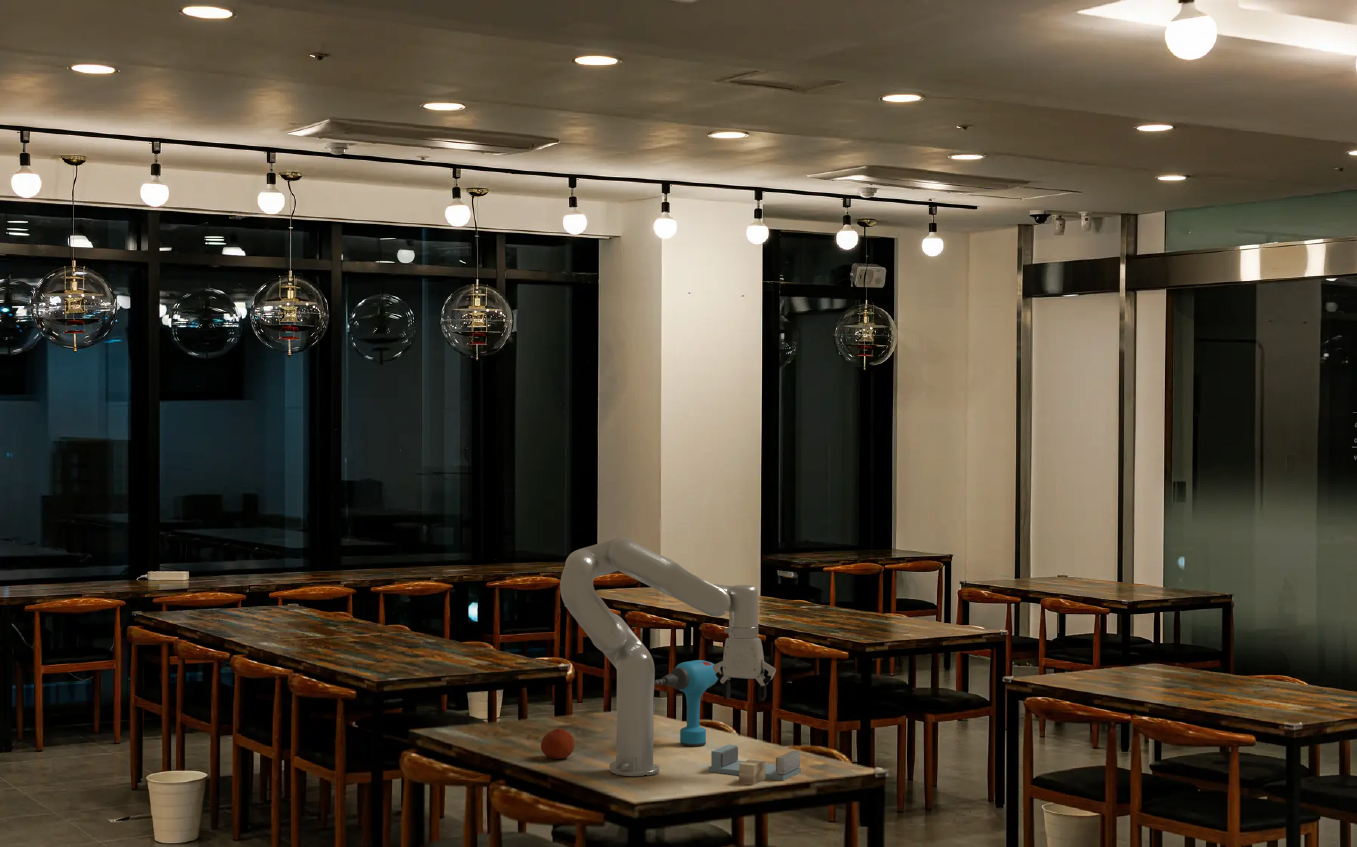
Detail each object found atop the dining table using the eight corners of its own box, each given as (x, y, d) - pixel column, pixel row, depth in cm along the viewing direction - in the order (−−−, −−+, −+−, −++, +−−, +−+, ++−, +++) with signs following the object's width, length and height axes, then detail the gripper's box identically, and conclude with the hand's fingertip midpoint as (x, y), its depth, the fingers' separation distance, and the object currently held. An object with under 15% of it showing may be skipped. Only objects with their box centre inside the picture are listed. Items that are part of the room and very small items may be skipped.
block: (753, 785, 394) (753, 765, 394) (739, 783, 396) (739, 763, 396) (765, 779, 400) (765, 760, 400) (751, 778, 402) (751, 758, 402)
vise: (783, 780, 399) (783, 759, 399) (708, 771, 409) (708, 751, 409) (800, 772, 409) (800, 751, 409) (727, 763, 419) (727, 743, 419)
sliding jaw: (784, 774, 400) (784, 758, 400) (775, 773, 401) (775, 757, 401) (800, 766, 408) (800, 751, 408) (791, 765, 410) (791, 750, 410)
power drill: (660, 756, 427) (660, 670, 427) (636, 752, 432) (637, 666, 433) (726, 741, 448) (727, 659, 448) (703, 737, 454) (703, 655, 454)
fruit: (554, 753, 430) (555, 724, 430) (580, 757, 425) (580, 727, 425) (533, 759, 423) (533, 728, 423) (559, 763, 418) (559, 732, 418)
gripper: (707, 633, 410) (707, 699, 410) (769, 636, 403) (770, 704, 403) (718, 629, 417) (719, 694, 417) (780, 633, 410) (780, 699, 410)
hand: (744, 699), depth 410 cm, fingers open, 9 cm apart
